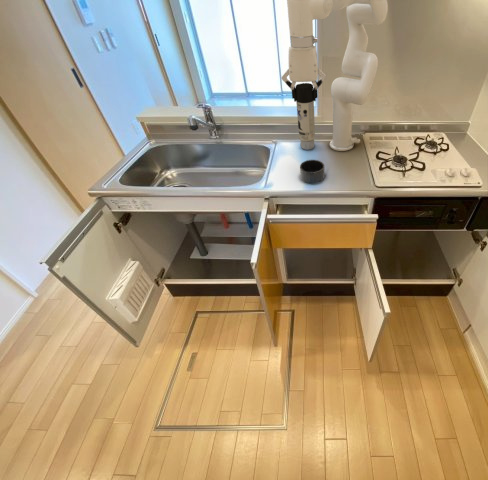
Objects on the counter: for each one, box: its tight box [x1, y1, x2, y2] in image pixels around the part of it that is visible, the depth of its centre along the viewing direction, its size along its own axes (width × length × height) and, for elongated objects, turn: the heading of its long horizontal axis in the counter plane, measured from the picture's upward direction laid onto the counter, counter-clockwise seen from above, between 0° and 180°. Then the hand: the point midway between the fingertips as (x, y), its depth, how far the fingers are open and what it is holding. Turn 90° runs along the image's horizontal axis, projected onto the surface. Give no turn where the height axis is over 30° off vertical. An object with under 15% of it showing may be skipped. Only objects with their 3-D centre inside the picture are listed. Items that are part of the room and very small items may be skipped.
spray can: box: [295, 82, 316, 142], centre depth 104 cm, size 7×7×20 cm
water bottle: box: [299, 139, 315, 151], centre depth 131 cm, size 9×8×25 cm
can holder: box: [299, 159, 326, 185], centre depth 118 cm, size 11×11×6 cm
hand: (305, 99), depth 100 cm, fingers closed on spray can, 6 cm apart
